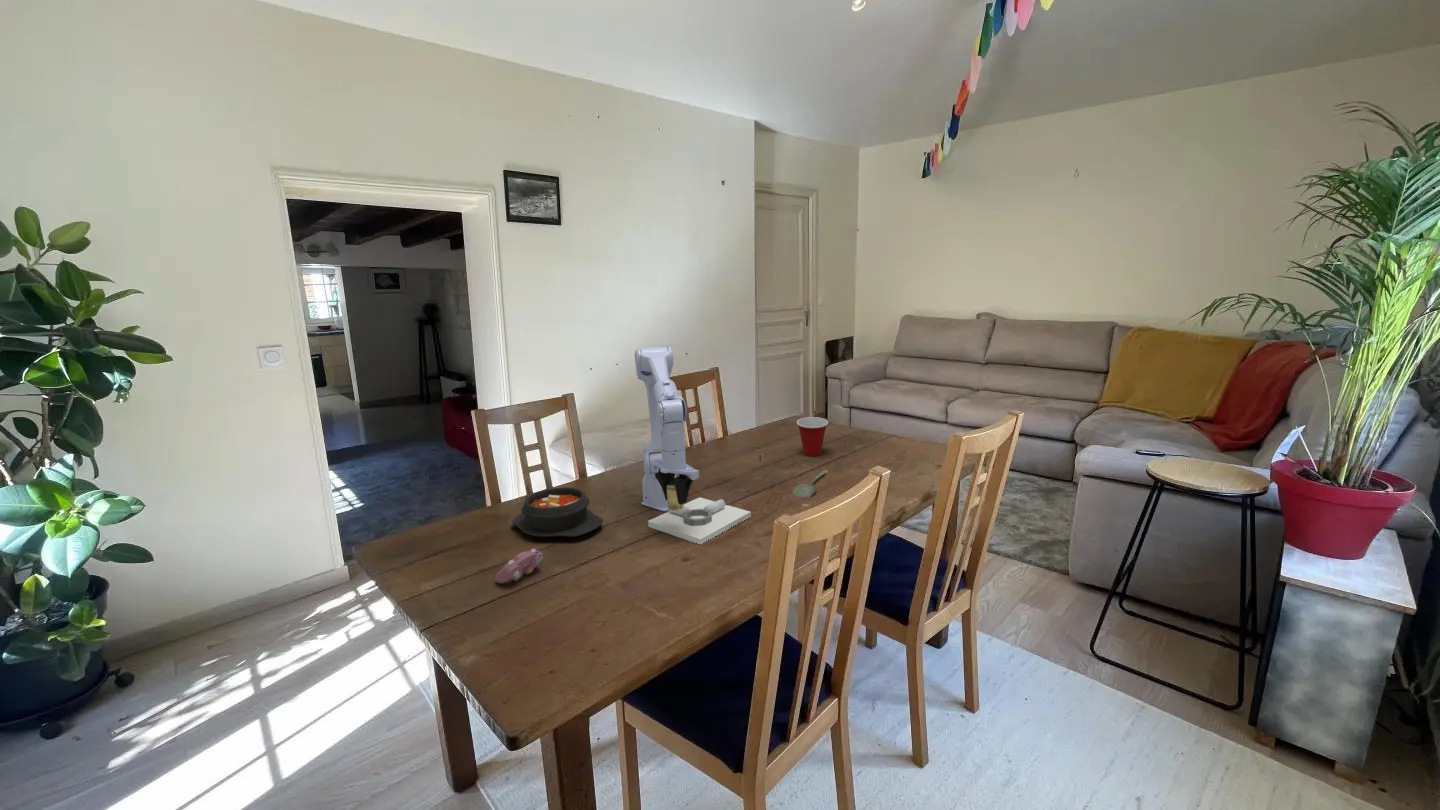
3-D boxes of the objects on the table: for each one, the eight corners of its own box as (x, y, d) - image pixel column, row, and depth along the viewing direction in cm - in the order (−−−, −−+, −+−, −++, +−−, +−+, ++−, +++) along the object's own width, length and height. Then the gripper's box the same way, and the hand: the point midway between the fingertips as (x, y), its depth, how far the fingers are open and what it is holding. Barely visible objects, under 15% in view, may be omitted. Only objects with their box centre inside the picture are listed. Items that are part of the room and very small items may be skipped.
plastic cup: (796, 458, 203) (795, 424, 200) (797, 449, 213) (797, 416, 211) (828, 459, 201) (828, 424, 198) (827, 449, 211) (828, 417, 209)
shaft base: (648, 526, 152) (647, 512, 151) (699, 502, 167) (699, 489, 166) (700, 545, 141) (700, 529, 140) (751, 517, 156) (750, 503, 155)
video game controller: (505, 594, 125) (512, 570, 122) (492, 580, 127) (498, 557, 124) (542, 573, 133) (549, 551, 130) (528, 561, 135) (535, 538, 132)
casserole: (618, 521, 156) (616, 491, 154) (571, 551, 140) (568, 518, 138) (547, 507, 167) (544, 479, 166) (495, 533, 151) (491, 502, 149)
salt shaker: (663, 507, 147) (662, 484, 145) (676, 502, 150) (675, 479, 148) (675, 511, 144) (674, 488, 142) (687, 506, 147) (686, 483, 145)
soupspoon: (788, 498, 171) (809, 503, 167) (788, 488, 170) (810, 492, 166) (816, 472, 189) (836, 476, 186) (816, 463, 188) (836, 466, 185)
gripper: (640, 447, 145) (644, 499, 148) (683, 457, 136) (686, 513, 139) (661, 440, 150) (664, 491, 153) (704, 450, 141) (706, 503, 144)
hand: (676, 501), depth 146 cm, fingers closed on salt shaker, 4 cm apart
